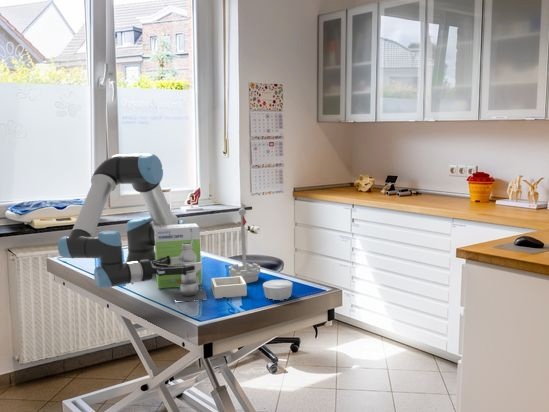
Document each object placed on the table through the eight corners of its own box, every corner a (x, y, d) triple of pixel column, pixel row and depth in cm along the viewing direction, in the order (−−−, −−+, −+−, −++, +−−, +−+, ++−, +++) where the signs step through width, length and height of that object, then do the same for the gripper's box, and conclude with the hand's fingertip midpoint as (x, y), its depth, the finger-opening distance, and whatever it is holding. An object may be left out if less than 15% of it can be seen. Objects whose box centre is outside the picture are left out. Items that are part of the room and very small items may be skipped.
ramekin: (270, 303, 210) (269, 289, 210) (258, 295, 220) (258, 281, 220) (298, 299, 215) (297, 285, 214) (285, 291, 225) (285, 278, 224)
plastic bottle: (181, 293, 224) (178, 242, 221) (198, 292, 224) (196, 241, 221) (179, 298, 217) (176, 245, 214) (198, 297, 218) (195, 245, 215)
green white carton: (198, 278, 246) (196, 222, 242) (202, 285, 236) (199, 226, 232) (156, 282, 241) (153, 225, 238) (158, 289, 231) (154, 229, 228)
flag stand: (225, 277, 247) (222, 207, 242) (254, 273, 251) (252, 204, 247) (234, 285, 235) (231, 211, 230) (265, 281, 239) (262, 208, 235)
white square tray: (215, 298, 218) (214, 286, 217) (211, 289, 229) (211, 278, 229) (246, 295, 220) (246, 284, 220) (241, 286, 232) (241, 275, 231)
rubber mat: (174, 302, 214) (174, 301, 214) (173, 293, 225) (173, 292, 225) (207, 300, 216) (207, 298, 216) (204, 290, 228) (204, 289, 228)
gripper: (128, 274, 220) (181, 265, 231) (152, 289, 199) (208, 278, 210) (127, 254, 219) (180, 246, 230) (151, 267, 198) (207, 258, 209)
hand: (194, 262), depth 220 cm, fingers open, 13 cm apart
